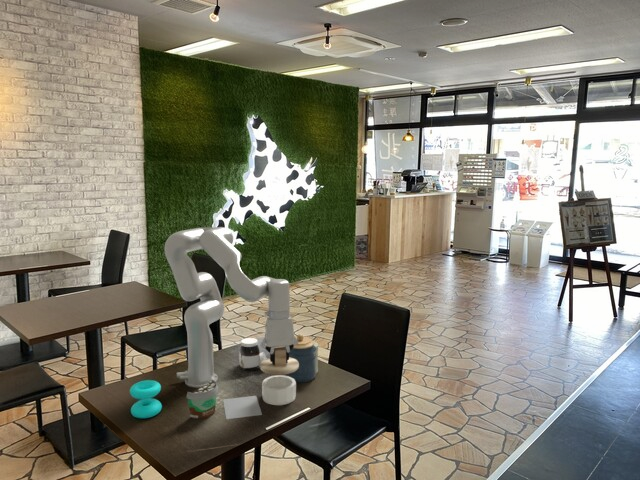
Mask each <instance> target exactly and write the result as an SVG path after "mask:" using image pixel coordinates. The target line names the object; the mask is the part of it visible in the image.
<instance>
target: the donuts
mask: <svg viewBox="0 0 640 480" xmlns="http://www.w3.org/2000/svg"><path fill="white" fill-rule="evenodd" d="M161 390H162V386H161V383H159V382H158V381H157V380H152V379H145V380H141V381H138V382H136V383H134V384H133V385H131V387H130V389H129V394H130V396H131V397H132V398H134V399H136V400H138V401H136V402H134V403H133V405H132V406H131V408H130V413H131V415H132V416H133V417H134V418H136V419H149V418H153V417H154V416H156V415H158V414H159V413H160V412H161V411H162V408H163V405H162V403H161V401H159V399H156V398H154V397H156V396H157V395H158V394H159V393H160V392H161Z"/></svg>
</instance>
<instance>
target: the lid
mask: <svg viewBox="0 0 640 480" xmlns="http://www.w3.org/2000/svg"><path fill="white" fill-rule="evenodd" d="M274 354H275V365H273V364H272V362H270V357H269V358H268V357H267V359H265V360H263V361H262V362H261V361H260V366H259V369H260V371H262V372H263V373H265V374H267V375H271V376H277V375H283V376H285V375H284V374H289V373H292V372H295V371H296V370H297V369H298V368H299V362H298V361H297V360H296V359H294V358H291V357H289V360H288V363H286V349H285V346H279V347H274Z"/></svg>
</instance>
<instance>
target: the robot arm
mask: <svg viewBox="0 0 640 480" xmlns="http://www.w3.org/2000/svg"><path fill="white" fill-rule="evenodd" d="M233 242H234V236H233V233H232V232H231V230H230V229H228V228H227V227H224V226H214V227H195V228H190V229H184V230H179V231H176V232H174V233H173V234H171V235H169V236H168V238H167V240H166V241H165V243H164V255H165V259H166V260H167V262H168V264H169V266H170V268H171V271H172V275H173V277H174V280H175V283H176V286H177V289H178V292H179V294H180V296H181V298H182V299H183V300H184V301H185V302H193V301H195V300H198V299H200V301H198V302H196V303H193V304H191V305H190V306H189V307H188V308H187V309H186V310H185V312H184V318H183V319H184V324H185V328H186V329H185V330H186V332H187V333H186V335H187V358H188V359H187V360H188V361H187V362H188V363H187V364H188V366H187V367H188V368H187V370H185V371H181V372H176V378H178V379H179V380H184V384H185V385H186V386H187V387H190V388H195V389H198V388H200V387H201V386H204V385H207V384H209V383H211V382H212V380H214V381H216V383H218V382H217V381H218V380H219V377H218V374H216V373H215V372H214V371H215V370H214V367H215V365H214V338H213V337H214V336H213V333H212V330H211V328H210V325H211V324H212V323H214V322H217V321H218V320H220V319H221V318H222V317H223V316H224V313H225V306H224V302H223V299H222V297H221V293H220V290H219V287H218V285H217V282H216V280H215V278H214V277H213V275H212V274H211V273H208V272H206V271H205V272H204V271H200V272H198V271H197V269H196V266H195V263H194V262H193V260H192V259H191V257H190V256H189V255H188V253H189V252H195V251H197V250H203V251H205V253H207V255H209V257H211V258H212V259H213V260H214V261H215V262H216V263H217V264H218V265H219V266H220V267H221V268H222V269H223V270H224V273H225V277H226V281H227V282H228V285H229V286H230V288H231V289H232V290H233V291H234V292H235V293H236V294H237V295H238V296H239V297H240V298H242V299H243V300H244V301H246V302H249V303H256V302H259V301H260V300H261V299H265V298H268V309H267V311H264V314H263V315H264V316H267V317H266V321H265V328H264V337H263V339H262V341H261V342H260V344H259V345H260V348H262V349H264V350H265V351H267V352H268V353H269V358H270V362H272V364H273V365H275V354H274V347H279V346H284V347H285V349H286V363H288V360H289V352H290V350H291V349H292V348H293V347H294V346H295V345H297V344H298V343H299V342H298V340H297V339H296V338H295V337H296V336H295V329H294V321H293V317H292V316H291V315H290V313H291V312H290V308H291V305H290V304H291V303H290V299H291V297H290V295H291V294H290V282H289V280H287V279H284V278H273V277H270V276H267V275H262V276H258V277H256V278H253V279H250V278H249V277H248V276H247V275H246V274H245V273H244V272H243V271H242V269H241V267H240V262H241V260H242V253H241V251H239V250H238V249H237V248H236V247H235V246H234V245H233Z"/></svg>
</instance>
